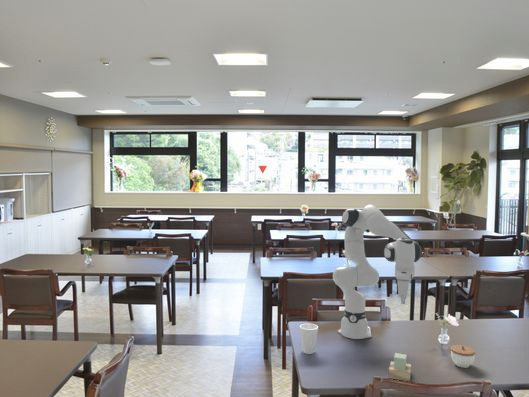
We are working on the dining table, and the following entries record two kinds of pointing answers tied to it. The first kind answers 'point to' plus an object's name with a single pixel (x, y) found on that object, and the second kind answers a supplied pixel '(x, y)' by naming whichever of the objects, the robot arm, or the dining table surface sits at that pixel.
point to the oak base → (400, 372)
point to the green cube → (400, 361)
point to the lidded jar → (462, 355)
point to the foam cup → (308, 337)
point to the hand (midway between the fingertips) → (403, 301)
